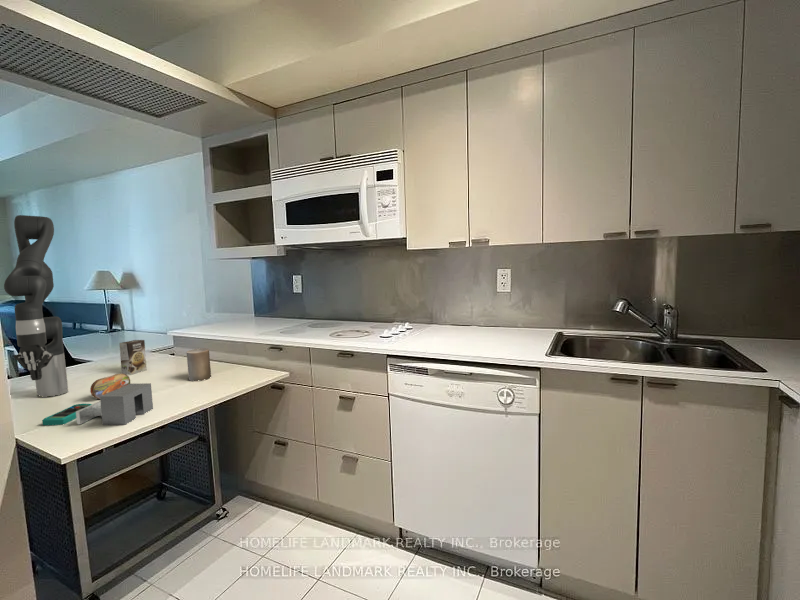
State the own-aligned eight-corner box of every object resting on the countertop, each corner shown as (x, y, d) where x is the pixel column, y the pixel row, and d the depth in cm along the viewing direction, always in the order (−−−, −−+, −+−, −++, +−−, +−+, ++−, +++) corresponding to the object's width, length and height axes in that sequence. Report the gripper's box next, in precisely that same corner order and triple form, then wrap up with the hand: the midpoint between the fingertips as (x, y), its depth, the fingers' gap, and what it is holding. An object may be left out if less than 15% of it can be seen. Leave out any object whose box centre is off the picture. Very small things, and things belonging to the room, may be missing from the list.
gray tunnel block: (102, 424, 131) (99, 396, 130) (132, 409, 145) (130, 383, 144) (125, 424, 131) (122, 396, 130) (153, 409, 144) (150, 383, 144)
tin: (95, 402, 154) (93, 381, 153) (89, 401, 155) (87, 381, 154) (131, 390, 168) (130, 371, 167) (126, 389, 169) (124, 370, 168)
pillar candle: (215, 376, 187) (213, 345, 186) (200, 382, 177) (198, 350, 176) (199, 375, 189) (196, 345, 188) (183, 381, 180) (180, 349, 179)
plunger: (77, 424, 131) (75, 411, 131) (123, 402, 152) (122, 391, 152) (113, 423, 131) (112, 411, 130) (154, 401, 152) (153, 391, 151)
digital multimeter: (96, 409, 146) (95, 402, 146) (63, 426, 131) (62, 418, 131) (76, 410, 146) (75, 403, 146) (41, 427, 131) (40, 418, 131)
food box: (131, 375, 192) (128, 343, 190) (121, 374, 193) (118, 342, 192) (147, 370, 200) (145, 339, 199) (138, 369, 202) (135, 339, 201)
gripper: (59, 329, 139) (63, 376, 141) (23, 330, 140) (29, 377, 141) (39, 333, 132) (44, 382, 133) (2, 334, 132) (7, 383, 134)
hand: (36, 379), depth 137 cm, fingers closed
